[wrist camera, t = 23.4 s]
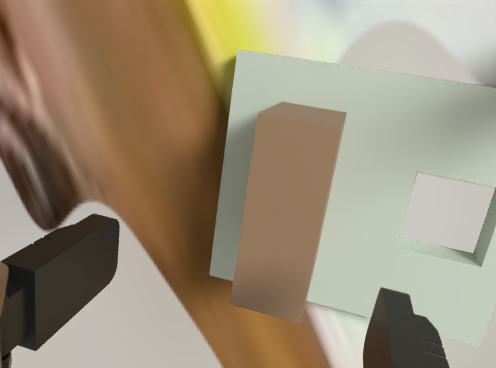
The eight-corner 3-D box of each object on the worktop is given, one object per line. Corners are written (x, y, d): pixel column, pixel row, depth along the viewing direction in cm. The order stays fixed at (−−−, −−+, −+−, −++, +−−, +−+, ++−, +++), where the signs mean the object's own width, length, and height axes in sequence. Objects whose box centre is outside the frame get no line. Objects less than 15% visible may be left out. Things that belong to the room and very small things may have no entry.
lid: (217, 263, 25) (170, 327, 19) (245, 50, 21) (198, 45, 15) (472, 329, 22) (513, 430, 16) (555, 96, 18) (651, 113, 12)
